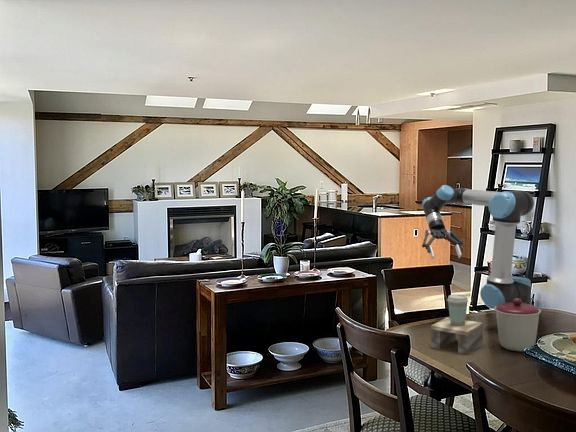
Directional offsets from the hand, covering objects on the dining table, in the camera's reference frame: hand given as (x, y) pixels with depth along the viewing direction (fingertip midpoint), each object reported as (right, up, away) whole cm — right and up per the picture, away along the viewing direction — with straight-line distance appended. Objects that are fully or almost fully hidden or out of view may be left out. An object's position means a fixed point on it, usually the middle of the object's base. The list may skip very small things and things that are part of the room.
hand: (446, 257), depth 268 cm
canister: (+19, -35, -37) cm, 54 cm away
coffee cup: (-5, -26, -33) cm, 42 cm away
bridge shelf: (-5, -36, -32) cm, 48 cm away
